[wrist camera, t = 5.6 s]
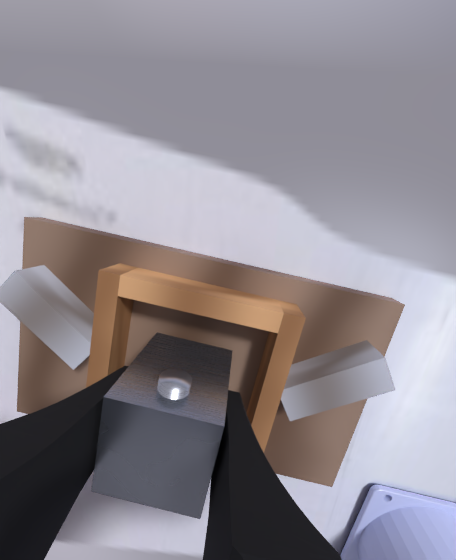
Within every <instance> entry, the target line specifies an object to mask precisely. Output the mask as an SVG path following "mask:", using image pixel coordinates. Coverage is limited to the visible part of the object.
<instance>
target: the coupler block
mask: <svg viewBox="0 0 456 560" xmlns="http://www.w3.org/2000/svg"><path fill="white" fill-rule="evenodd" d="M232 351H233V350H228V349H224V348H220V347H216V346H212V345H208V344H203V343H199V342H195V341H191V340H187V339H182V338H178V337H174V336H170V335H166V334H162V333H156V334H155V335H154V336H153V337H152V339H151V340H150V341H149V342H148V344H147V345H146V346H145V347H144V348H143V350H142V351H141V352H140V353H139V354H138V356H137V357H136V358H135V359H134V361H133V362H132V363H131V364H130V365H129V367H128V368H127V369H126V370H125V371H124V373H123V374H122V375H121V376H120V377H119V379H118V380H117V381H116V382H115V384H114V385H113V386H112V387H111V388H110V390H109V391H108V392H107V393H106V394H105V396H104V397H103V405H102V413H101V421H100V429H99V437H98V444H97V452H96V460H95V468H94V476H93V484H92V492H96V493H100V494H104V495H107V496H111V497H115V498H119V499H123V500H127V501H131V502H135V503H139V504H143V505H147V506H151V507H155V508H159V509H163V510H167V511H171V512H175V513H179V514H182V515H186V516H190V517H194V518H198V519H200V518H201V514H202V510H203V506H204V502H205V499H206V495H207V491H208V487H209V483H210V480H211V476H212V472H213V468H214V464H215V460H216V457H217V453H218V449H219V445H220V441H221V437H222V434H223V430H224V425H225V416H226V407H227V397H228V388H229V379H230V370H231V361H232Z"/></svg>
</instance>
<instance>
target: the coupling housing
mask: <svg viewBox="0 0 456 560" xmlns="http://www.w3.org/2000/svg"><path fill="white" fill-rule="evenodd" d="M0 302H1V303H2V304H3V305H4V306H5V307H6V308H7V309H8V310H9V311H10V312H11V313H12V314H14V315H15V316H16V317H17V318H18V319H19V320H20V345H19V371H18V396H17V411H18V412H22V413H26V414H31V413H33V412H36V411H38V410H41V409H43V408H45V407H48V406H50V405H52V404H55V403H57V402H59V401H61V400H63V399H65V398H67V397H69V396H71V395H73V394H75V393H77V392H79V391H81V390H83V389H85V388H87V387H89V386H90V385H92V384H94V383H96V382H98V381H99V380H101V379H103V378H104V377H106V376H108V375H110V374H111V373H113V372H115V371H116V370H118V369H120V368H122V367H123V366H129V365H130V364H131V363H132V362H133V361H134V359H135V358H136V357H137V356H138V354H139V353H140V352H141V351H142V350H143V348H144V347H145V346H146V345H147V344H148V342H149V341H150V340H151V339H152V337H153V336H154V335H155V334H156V333H162V334H166V335H170V336H174V337H178V338H182V339H187V340H191V341H195V342H199V343H203V344H208V345H212V346H216V347H220V348H224V349H228V350H233V351H232V361H231V370H230V379H229V388H228V390H231V391H235V392H239V393H240V395H241V398H242V401H243V404H244V408H245V411H246V413H247V416H248V419H249V421H250V424H251V426H252V429H253V431H254V434H255V436H256V438H257V440H258V442H259V444H260V446H261V448H262V450H263V452H264V454H265V456H266V458H267V460H268V462H269V463H270V465H271V467H272V469H273V470H274V472H275V473H276V474H280V475H284V476H288V477H293V478H297V479H301V480H305V481H309V482H313V483H318V484H322V485H326V486H330V487H332V486H333V483H334V481H335V478H336V476H337V473H338V471H339V468H340V466H341V463H342V461H343V458H344V456H345V453H346V451H347V448H348V446H349V443H350V441H351V438H352V436H353V433H354V431H355V428H356V426H357V423H358V421H359V418H360V416H361V413H362V411H363V408H364V406H365V403H366V401H367V398H370V397H374V396H377V395H380V394H384V393H387V392H391V391H394V390H395V387H394V384H393V381H392V377H391V374H390V371H389V368H388V365H387V362H386V359H385V357H384V356H385V353H386V351H387V348H388V346H389V343H390V341H391V338H392V336H393V333H394V331H395V328H396V326H397V323H398V321H399V318H400V316H401V313H402V311H403V308H404V306H405V305H404V304H402V303H400V302H398V301H396V300H394V299H392V298H389V297H384V296H380V295H376V294H371V293H367V292H363V291H358V290H354V289H350V288H345V287H341V286H337V285H332V284H328V283H324V282H319V281H315V280H311V279H306V278H302V277H297V276H293V275H289V274H284V273H280V272H276V271H271V270H267V269H263V268H258V267H254V266H250V265H245V264H241V263H237V262H232V261H228V260H224V259H219V258H215V257H211V256H206V255H202V254H198V253H193V252H189V251H185V250H180V249H176V248H172V247H167V246H163V245H159V244H154V243H150V242H146V241H141V240H137V239H132V238H128V237H124V236H119V235H115V234H111V233H106V232H102V231H98V230H93V229H89V228H85V227H80V226H76V225H72V224H67V223H63V222H59V221H54V220H50V219H46V218H35V217H24V241H23V267H22V270H17V271H14V272H13V273H12V274H11V276H10V277H9V278H8V279H7V280H6V281H5V282H4V284H3V285H2V286H1V287H0Z"/></svg>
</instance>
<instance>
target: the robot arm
mask: <svg viewBox="0 0 456 560" xmlns="http://www.w3.org/2000/svg"><path fill="white" fill-rule="evenodd" d="M128 367H129V366H123V367H122V368H120V369H118V370H116V371H115V372H113V373H111V374H110V375H108V376H106V377H104V378H103V379H101V380H99V381H98V382H96V383H94V384H92V385H90V386H89V387H87V388H85V389H83V390H81V391H79V392H77V393H75V394H73V395H71V396H69V397H67V398H65V399H63V400H61V401H59V402H57V403H55V404H52V405H50V406H48V407H45V408H43V409H41V410H38V411H36V412H33V413H31V414H28V415H25V416H22V417H19V418H17V419H14V420H11V421H8V422H5V423H2V424H0V560H44V558H45V556H46V555H47V553H48V551H49V549H50V547H51V545H52V543H53V541H54V539H55V538H56V536H57V534H58V532H59V530H60V528H61V526H62V524H63V522H64V521H65V519H66V517H67V515H68V513H69V511H70V510H71V508H72V506H73V504H74V502H75V500H76V499H77V497H78V495H79V493H80V491H81V490H82V488H83V486H84V485H85V483H86V481H87V480H88V478H89V477H90V475H91V474H92V472H93V471H94V468H95V460H96V452H97V444H98V437H99V429H100V421H101V413H102V405H103V397H104V396H105V394H106V393H107V392H108V391H109V390H110V388H111V387H112V386H113V385H114V384H115V382H116V381H117V380H118V379H119V377H120V376H121V375H122V374H123V373H124V371H125V370H126V369H127V368H128ZM203 560H456V503H453V502H449V501H445V500H441V499H437V498H433V497H428V496H424V495H420V494H416V493H412V492H408V491H403V490H399V489H395V488H391V487H387V486H383V485H373V486H372V487H371V488H370V490H369V492H368V494H367V496H366V499H365V501H364V503H363V505H362V508H361V510H360V512H359V514H358V517H357V519H356V521H355V523H354V526H353V528H352V530H351V532H350V535H349V537H348V539H347V541H346V544H345V546H344V548H343V550H342V553H341V555H339V554H338V552H337V551H336V550H335V549H334V548H333V547H332V546H331V545H330V544H329V542H328V541H327V540H326V539H325V538H324V537H323V536H322V535H321V534H320V532H319V531H318V530H317V529H316V528H315V527H314V526H313V524H312V523H311V522H310V521H309V520H308V518H307V517H306V516H305V515H304V513H303V512H302V511H301V510H300V508H299V507H298V506H297V504H296V503H295V502H294V500H293V499H292V497H291V496H290V495H289V493H288V492H287V490H286V489H285V487H284V486H283V485H282V483H281V482H280V480H279V478H278V477H277V475H276V474H275V472H274V470H273V469H272V467H271V465H270V463H269V462H268V460H267V458H266V456H265V454H264V452H263V450H262V448H261V446H260V444H259V442H258V440H257V438H256V436H255V434H254V431H253V429H252V426H251V424H250V421H249V419H248V416H247V413H246V411H245V408H244V404H243V401H242V398H241V395H240V393H239V392H235V391H231V390H228V397H227V407H226V416H225V425H224V430H223V434H222V437H221V441H220V445H219V449H218V453H217V457H216V460H215V464H214V468H213V472H212V476H211V489H210V505H209V517H208V526H207V533H206V540H205V548H204V555H203Z"/></svg>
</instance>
